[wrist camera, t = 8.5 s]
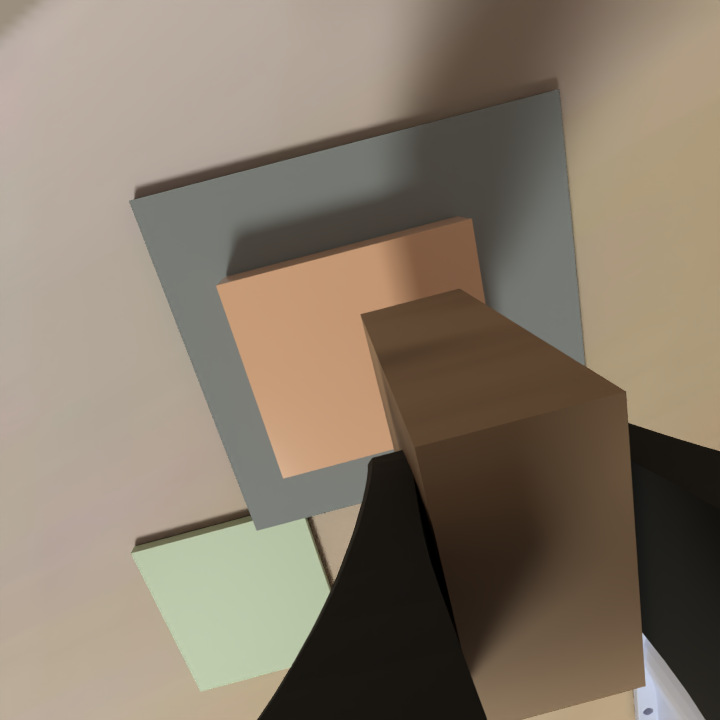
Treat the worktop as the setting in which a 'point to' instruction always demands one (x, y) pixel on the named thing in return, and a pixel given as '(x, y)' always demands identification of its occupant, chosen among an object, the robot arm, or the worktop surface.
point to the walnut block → (517, 500)
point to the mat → (355, 224)
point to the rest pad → (236, 596)
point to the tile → (336, 335)
